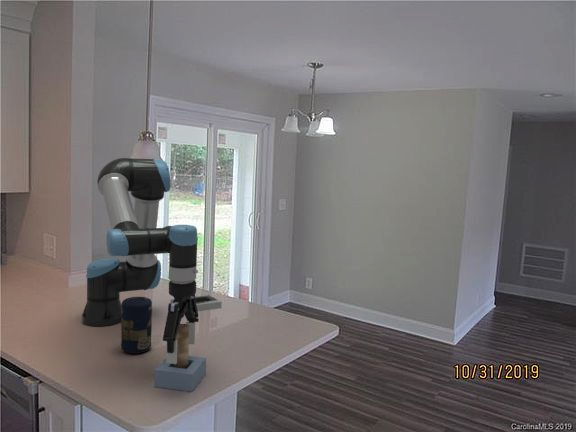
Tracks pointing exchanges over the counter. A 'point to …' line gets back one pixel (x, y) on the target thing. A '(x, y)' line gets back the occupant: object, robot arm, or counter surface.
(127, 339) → the canister
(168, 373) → the socket block
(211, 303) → the gray rectangular tray
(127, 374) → the counter surface
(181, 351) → the dowel
